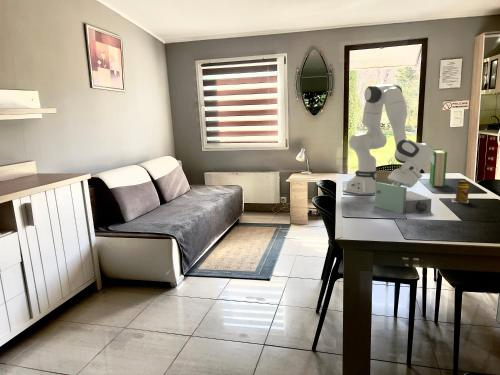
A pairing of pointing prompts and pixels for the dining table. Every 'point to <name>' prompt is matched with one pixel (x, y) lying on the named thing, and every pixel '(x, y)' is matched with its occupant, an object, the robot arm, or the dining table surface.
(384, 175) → the planter bowl
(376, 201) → the side door
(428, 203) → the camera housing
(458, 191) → the condiment
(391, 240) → the dining table surface
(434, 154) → the hardback book
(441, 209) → the dining table surface
